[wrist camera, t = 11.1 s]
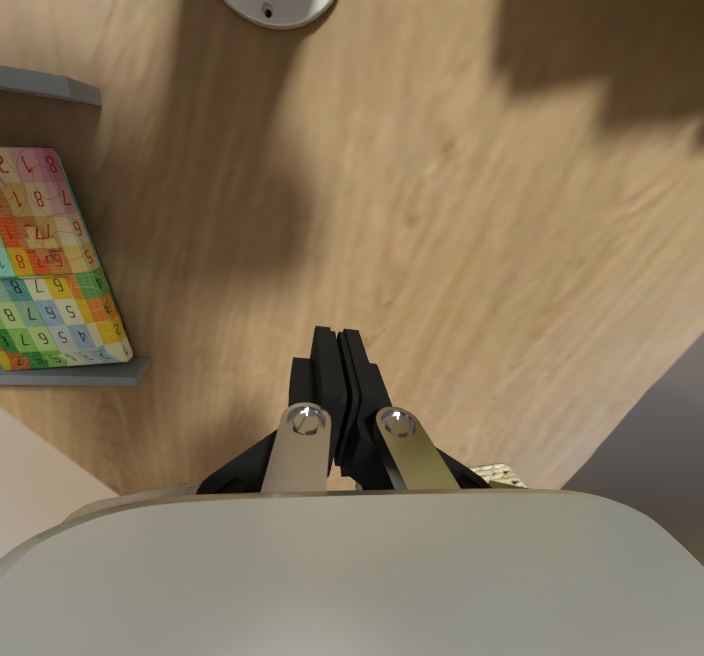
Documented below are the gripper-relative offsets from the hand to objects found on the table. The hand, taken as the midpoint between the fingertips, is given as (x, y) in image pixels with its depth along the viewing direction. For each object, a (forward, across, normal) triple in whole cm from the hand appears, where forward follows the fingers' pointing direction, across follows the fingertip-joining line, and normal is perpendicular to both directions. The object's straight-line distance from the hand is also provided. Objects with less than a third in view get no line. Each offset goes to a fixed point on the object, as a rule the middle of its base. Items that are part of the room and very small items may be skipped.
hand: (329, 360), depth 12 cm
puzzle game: (+25, +25, +8) cm, 36 cm away
